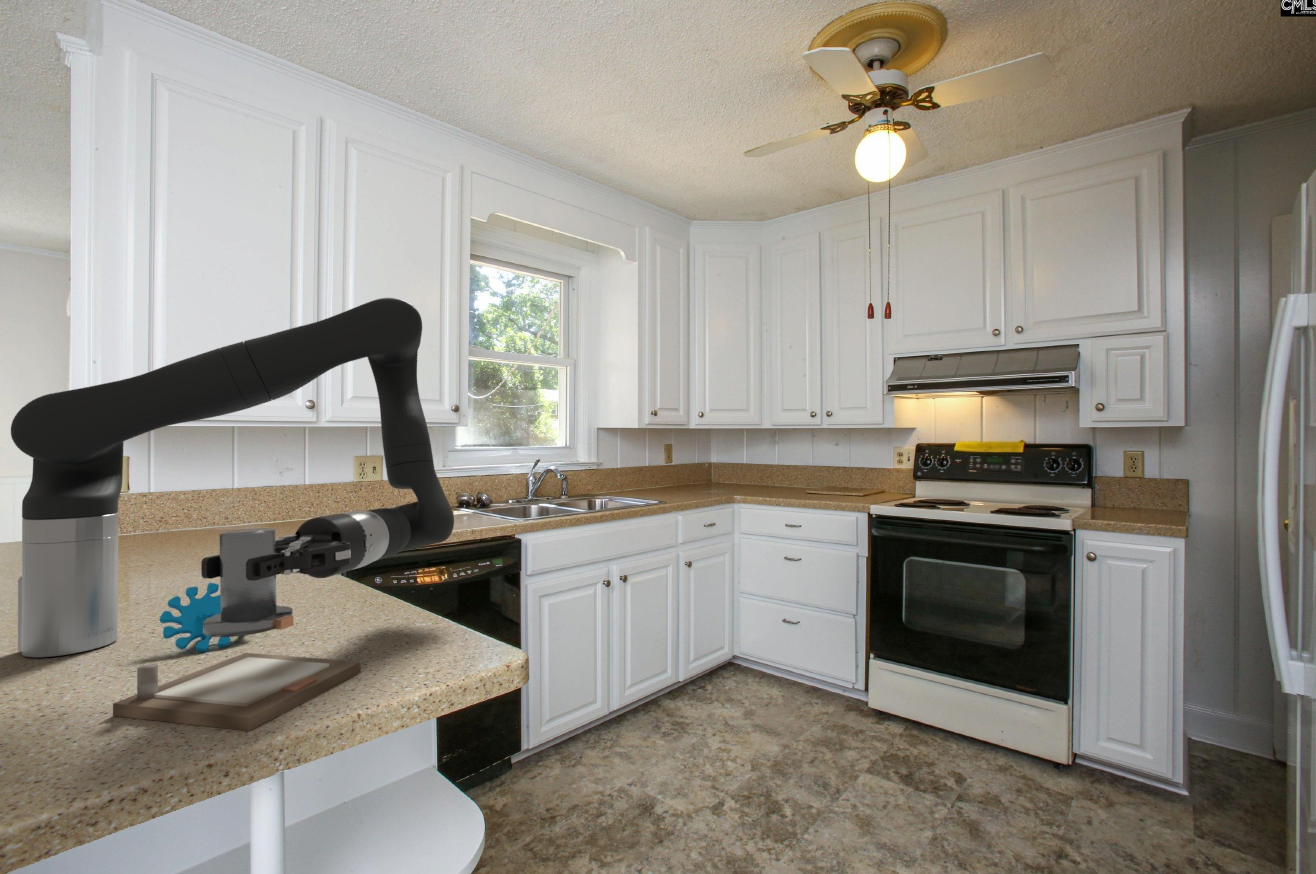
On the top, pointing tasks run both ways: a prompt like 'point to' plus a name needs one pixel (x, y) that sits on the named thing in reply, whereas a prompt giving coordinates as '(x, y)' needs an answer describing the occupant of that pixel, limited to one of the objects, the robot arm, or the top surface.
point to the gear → (193, 618)
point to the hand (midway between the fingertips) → (227, 569)
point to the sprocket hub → (246, 588)
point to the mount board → (234, 690)
